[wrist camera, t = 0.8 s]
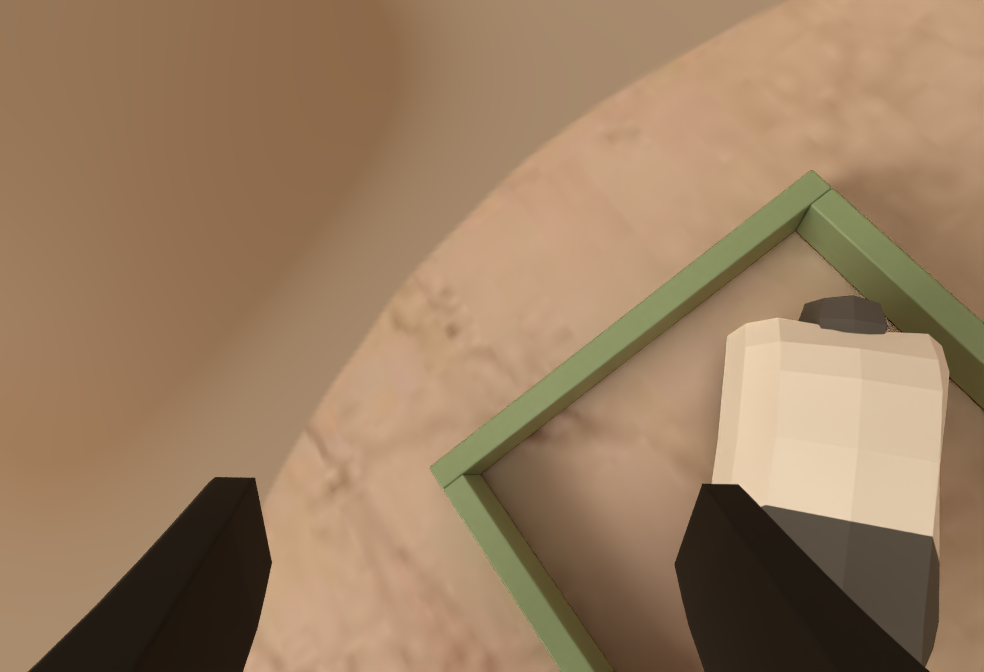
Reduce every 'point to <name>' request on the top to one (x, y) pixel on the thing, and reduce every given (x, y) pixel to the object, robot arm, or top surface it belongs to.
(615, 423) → the top surface
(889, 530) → the giant panda
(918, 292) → the rim
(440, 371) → the top surface
